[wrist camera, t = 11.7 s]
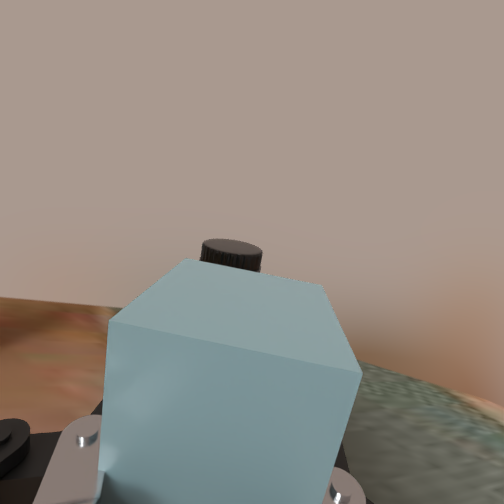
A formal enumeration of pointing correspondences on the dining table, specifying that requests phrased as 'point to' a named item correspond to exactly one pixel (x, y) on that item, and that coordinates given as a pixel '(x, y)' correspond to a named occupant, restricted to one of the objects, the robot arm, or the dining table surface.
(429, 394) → the dining table surface
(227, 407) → the peg
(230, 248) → the supplement bottle
